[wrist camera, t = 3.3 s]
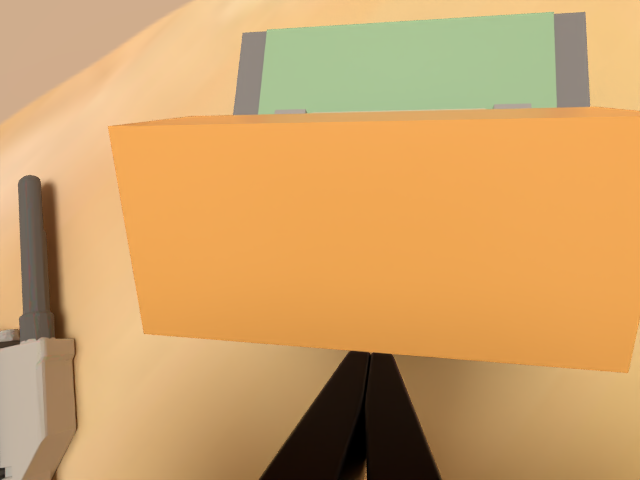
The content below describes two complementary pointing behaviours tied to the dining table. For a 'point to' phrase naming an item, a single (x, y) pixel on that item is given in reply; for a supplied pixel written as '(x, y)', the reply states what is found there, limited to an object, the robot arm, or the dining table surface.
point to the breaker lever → (391, 231)
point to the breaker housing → (417, 65)
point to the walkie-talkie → (34, 363)
